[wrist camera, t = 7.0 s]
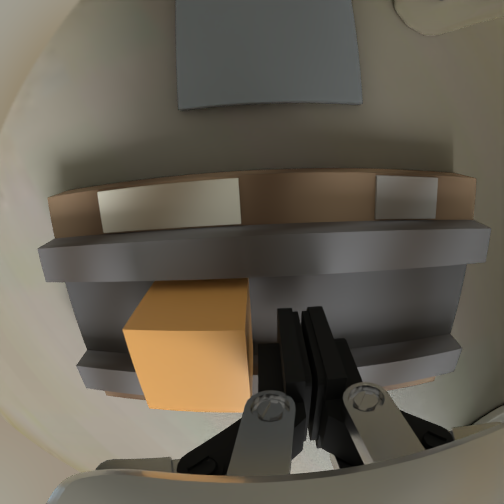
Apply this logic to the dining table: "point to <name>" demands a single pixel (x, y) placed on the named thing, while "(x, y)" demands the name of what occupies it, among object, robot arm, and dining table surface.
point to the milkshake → (446, 14)
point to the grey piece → (276, 259)
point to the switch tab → (193, 345)
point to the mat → (266, 53)
